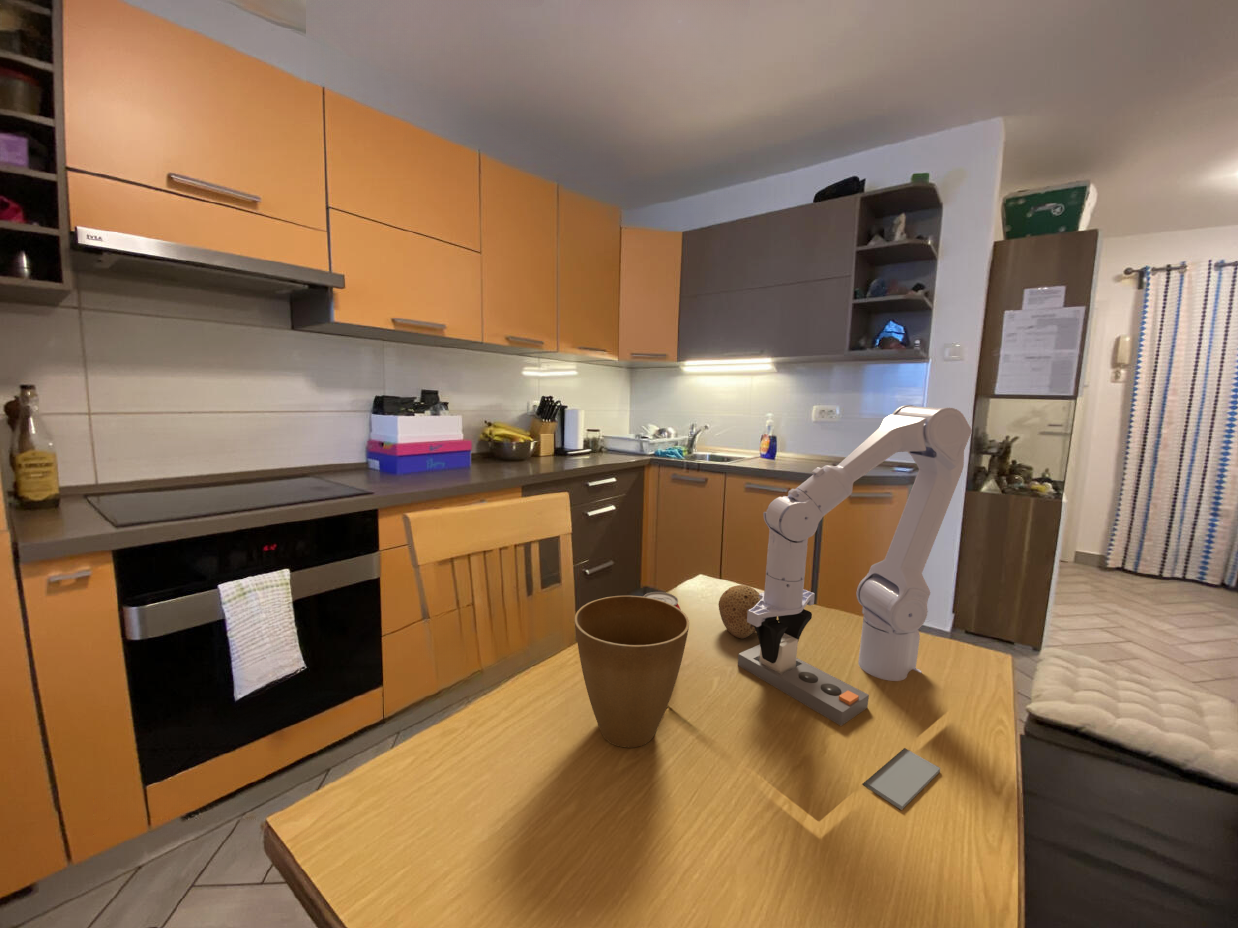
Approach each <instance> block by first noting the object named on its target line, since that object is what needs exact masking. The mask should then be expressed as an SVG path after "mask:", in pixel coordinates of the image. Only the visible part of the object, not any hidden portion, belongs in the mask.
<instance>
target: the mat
mask: <svg viewBox="0 0 1238 928" xmlns="http://www.w3.org/2000/svg"><path fill="white" fill-rule="evenodd" d="M940 772H941V767H939V766H938V765H936V764H934V763H932V762H930V761H929V760H927V759H925V758H923V757H922V756H920V755H919V754H916V753H914V752H913V751H911V750H909V749H907V748H906V747H904V748H902V749H901V750H900V751H899V752H898V753H897V754H896V755H895V756H893V757H892V758H891V759H890V760H889V761H887V762H886V763H885V764H884V765H882V767H881V768H879V769H878V770H877V771H875V773H874V774H872V775H871V776H870V777H869V778H867V779H866V780H865V781H864V782H863V783H862V785H863V786H864V787H866V788H867V789H868V790H870V791H872V792H873V793H875V794H876V795H878V796H880V798H882V799H884V800H886V801H887V802H889V803H890V804H891V805H893V806H894V807H896V808H897V809H899V810H900V811H902V810H904V808H905V807H907V805H908V804H910V803H911V801H912V800H914V798H916V796H918V795H919V794H920V793H921V791H923V789H925V788H926V787H927V786H928V784H929V783H931V782H932V781H933V780H934V778H935V777H937V775H938V774H939V773H940Z"/></svg>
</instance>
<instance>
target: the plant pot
mask: <svg viewBox="0 0 1238 928" xmlns="http://www.w3.org/2000/svg"><path fill="white" fill-rule="evenodd" d="M680 609H681V608H680ZM680 609H679V608H677V607H676V606H674V605H671V604H669V603H667V602H664V601H661V600H657V599H654V598H648V597H643V596H641V595H615V596H607V597H603V598H599V599H595V600H592V601H589V602H587V603H586V604H584V605H582V606H581V607H580V608H579V609H578V610H577V611H576V613H575V615H574V625H575V633H576V641H577V650H578V654H579V655H578V656H579V660H580V666H581V670H582V671H581V672H582V674H583V676H582V677H583V680H584V684H585V688H586V692H587V696H588V700H589V702H590V705H591V708H592V711H593V715H594V717H595V719H596V720H595V721H596V723H597V725H598V728H599V731H600V732H601V735H602V737H603V738H604V739H605V740H606V741H607V742H608V743H610V744H612V745H614V746H617V747H621V748H637V747H641V746H644V745H647V743H649V742H651V740H652V739H653V738H654V736H655V734H656V732H657V731H658V729H659V726H660V724H661V722H662V720H663V718H664V715H665V713H666V711H667V707H668V705H669V703H670V700H671V698H672V694H673V691H674V687H675V686H676V683H677V679H678V675H679V672H680V669H681V664H682V660H683V656H684V653H685V647H686V643H687V638H688V634H689V629H690V620H689V617H688V616H687V614H686V613H685V612H684V611H683V610H682V609H681V610H680Z"/></svg>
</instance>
